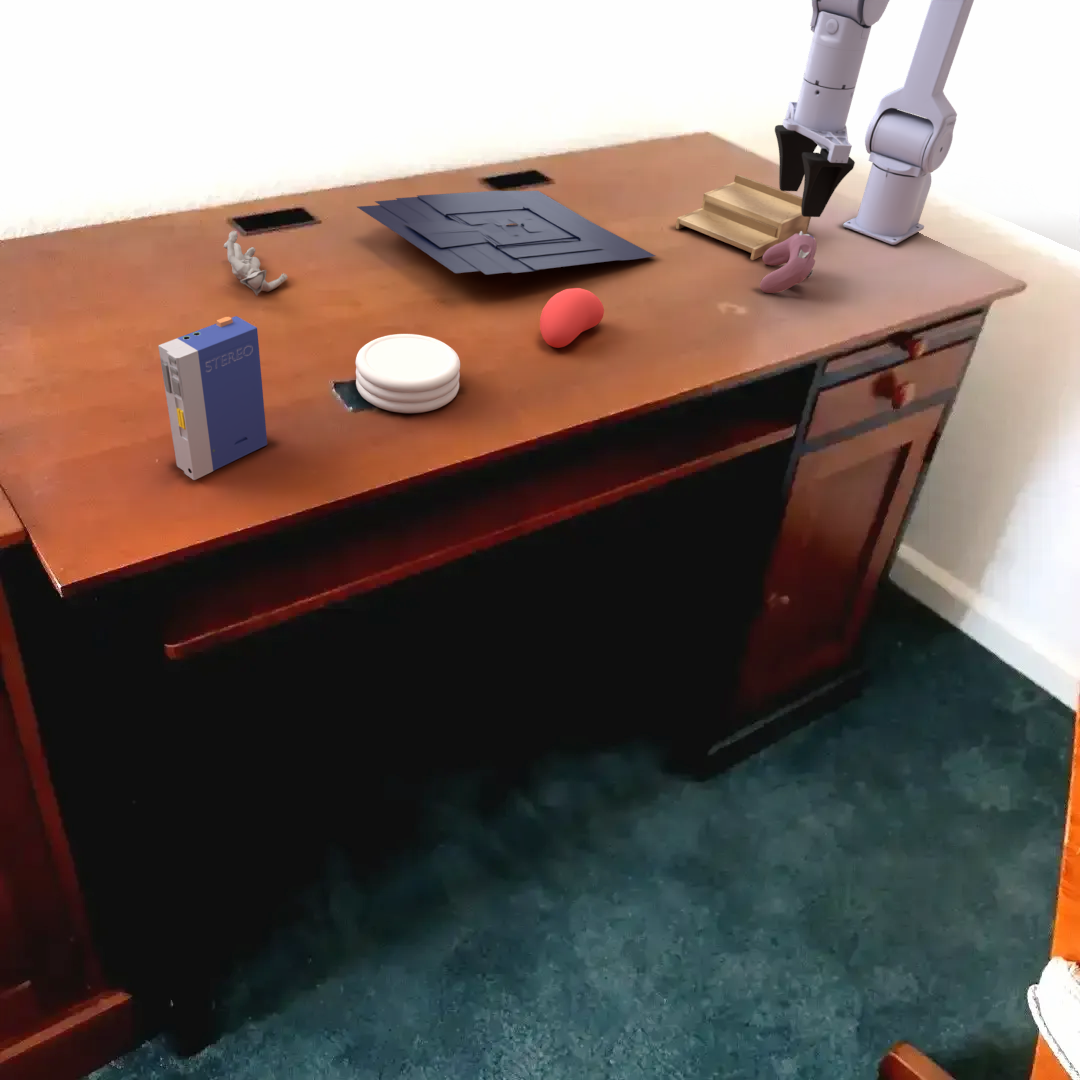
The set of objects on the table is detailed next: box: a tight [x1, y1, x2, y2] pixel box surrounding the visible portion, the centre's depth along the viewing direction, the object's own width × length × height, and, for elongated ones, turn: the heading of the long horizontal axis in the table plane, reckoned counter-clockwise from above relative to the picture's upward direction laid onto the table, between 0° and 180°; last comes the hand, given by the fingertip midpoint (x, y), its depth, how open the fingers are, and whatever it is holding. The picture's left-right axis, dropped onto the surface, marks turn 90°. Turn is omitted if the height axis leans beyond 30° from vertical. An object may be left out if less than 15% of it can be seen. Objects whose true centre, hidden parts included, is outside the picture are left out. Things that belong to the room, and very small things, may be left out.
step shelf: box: [675, 173, 812, 261], centre depth 141 cm, size 14×12×4 cm
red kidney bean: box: [539, 287, 605, 349], centre depth 114 cm, size 5×9×6 cm
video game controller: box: [759, 231, 818, 294], centre depth 130 cm, size 10×5×7 cm, turn 168°
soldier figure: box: [223, 230, 289, 296], centre depth 117 cm, size 8×5×12 cm
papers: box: [356, 190, 656, 276], centre depth 131 cm, size 24×30×4 cm
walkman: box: [157, 315, 268, 481], centre depth 89 cm, size 8×3×12 cm, turn 140°
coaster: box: [355, 333, 461, 414], centre depth 103 cm, size 10×10×4 cm
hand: (799, 202), depth 124 cm, fingers open, 7 cm apart
